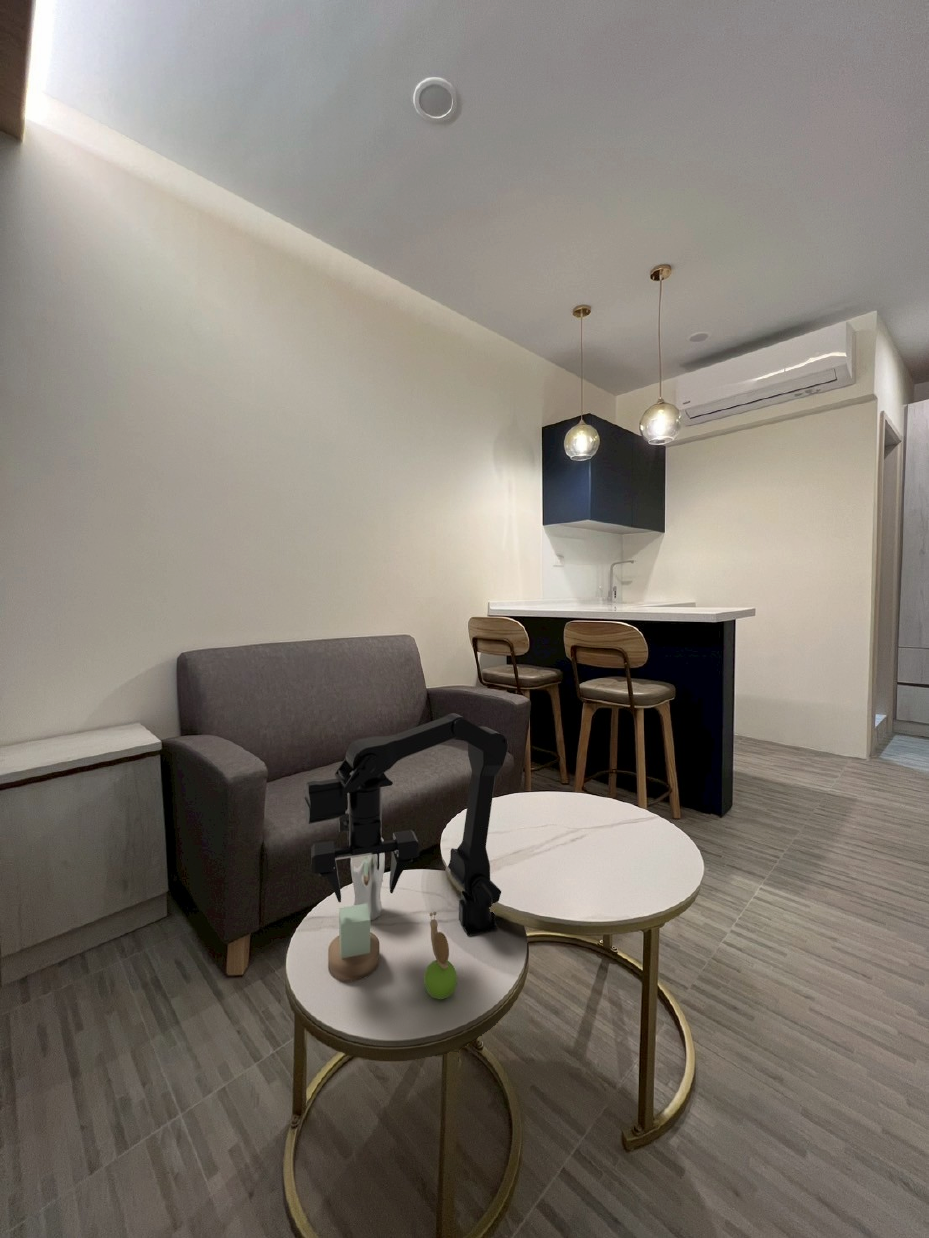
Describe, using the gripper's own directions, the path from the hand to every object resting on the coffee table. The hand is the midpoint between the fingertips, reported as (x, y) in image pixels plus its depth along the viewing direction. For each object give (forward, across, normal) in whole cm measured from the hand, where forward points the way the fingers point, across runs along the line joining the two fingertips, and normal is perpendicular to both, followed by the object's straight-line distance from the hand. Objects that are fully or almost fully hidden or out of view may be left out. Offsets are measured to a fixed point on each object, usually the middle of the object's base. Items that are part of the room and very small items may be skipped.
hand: (365, 896), depth 90 cm
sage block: (+9, +2, 0) cm, 9 cm away
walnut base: (+12, +2, 0) cm, 12 cm away
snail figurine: (+12, -11, +11) cm, 20 cm away
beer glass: (+12, -2, -14) cm, 18 cm away
